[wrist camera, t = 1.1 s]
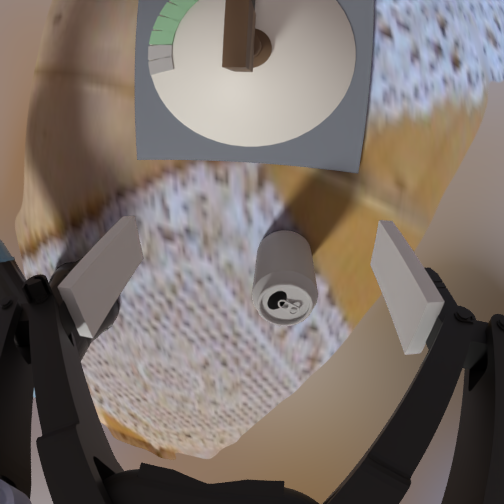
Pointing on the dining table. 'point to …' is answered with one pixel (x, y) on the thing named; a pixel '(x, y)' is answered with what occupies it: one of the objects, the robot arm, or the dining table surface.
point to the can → (284, 279)
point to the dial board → (254, 84)
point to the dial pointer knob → (243, 38)
